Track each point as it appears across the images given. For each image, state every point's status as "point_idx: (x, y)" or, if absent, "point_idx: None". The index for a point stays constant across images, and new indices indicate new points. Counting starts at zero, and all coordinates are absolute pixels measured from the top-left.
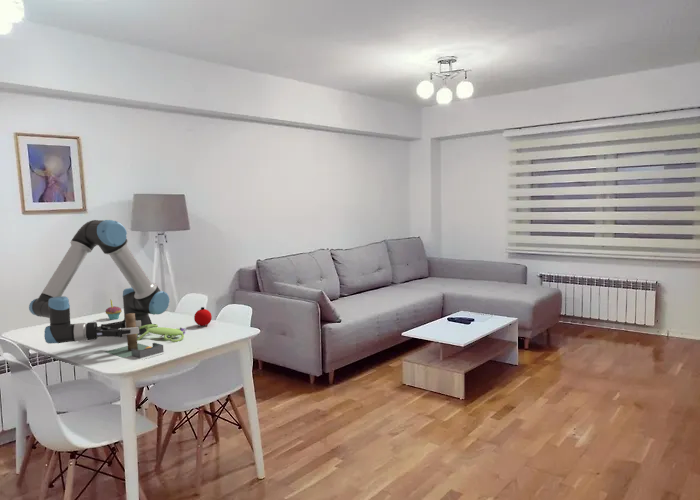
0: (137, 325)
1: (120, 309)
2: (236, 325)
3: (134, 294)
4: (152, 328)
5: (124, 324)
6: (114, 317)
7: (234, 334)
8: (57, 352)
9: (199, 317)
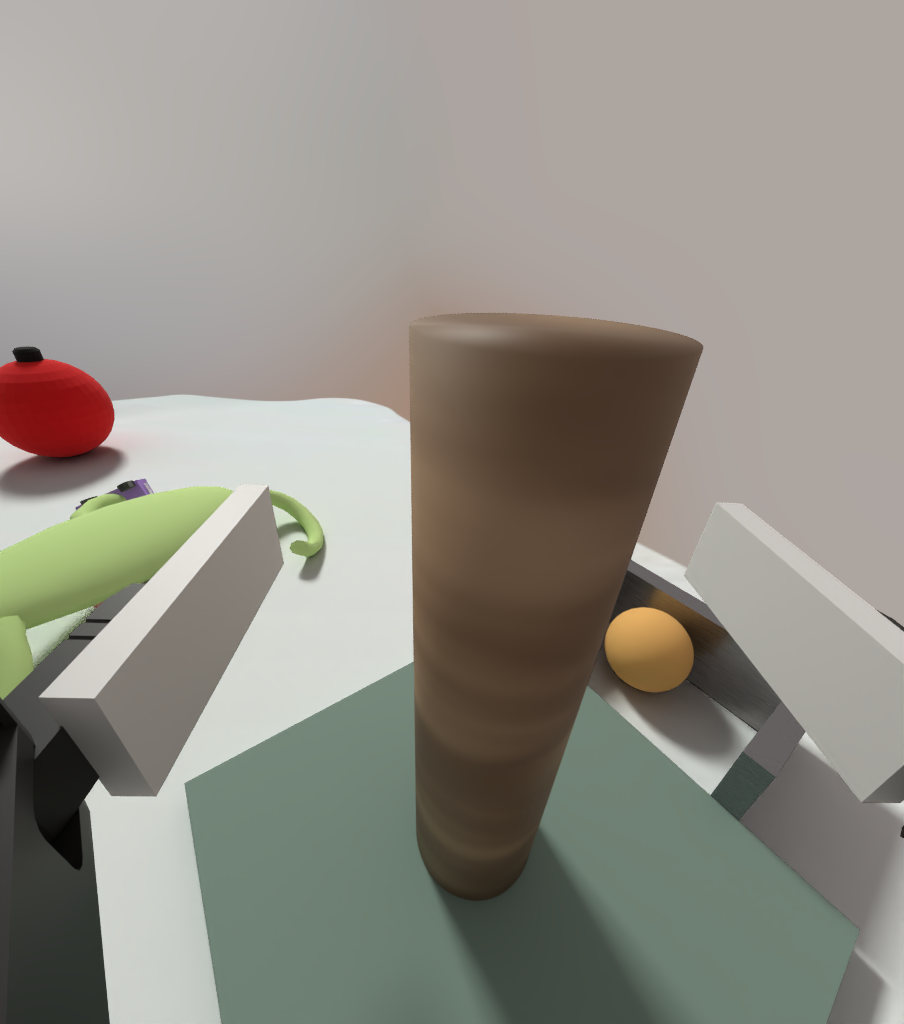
0: (262, 578)
1: None
2: (219, 408)
3: None
4: (7, 578)
5: (52, 778)
6: None
7: (353, 421)
8: None
9: (75, 406)
